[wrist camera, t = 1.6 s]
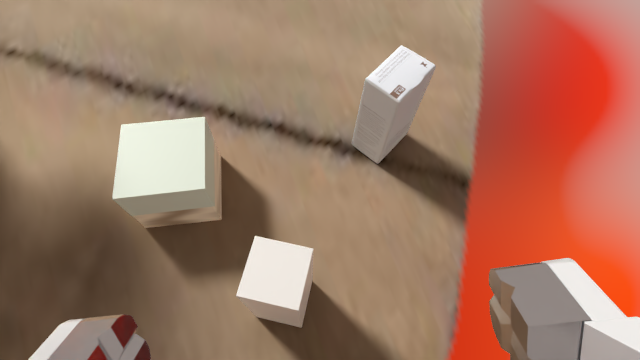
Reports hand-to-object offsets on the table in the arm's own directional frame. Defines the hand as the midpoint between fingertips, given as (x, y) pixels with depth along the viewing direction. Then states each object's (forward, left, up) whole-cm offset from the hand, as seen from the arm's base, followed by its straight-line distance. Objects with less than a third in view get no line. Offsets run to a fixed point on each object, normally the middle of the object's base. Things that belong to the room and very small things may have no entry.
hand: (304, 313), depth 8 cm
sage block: (-12, +19, -26) cm, 34 cm away
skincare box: (+11, +23, -29) cm, 39 cm away
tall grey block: (-2, +6, -29) cm, 30 cm away
